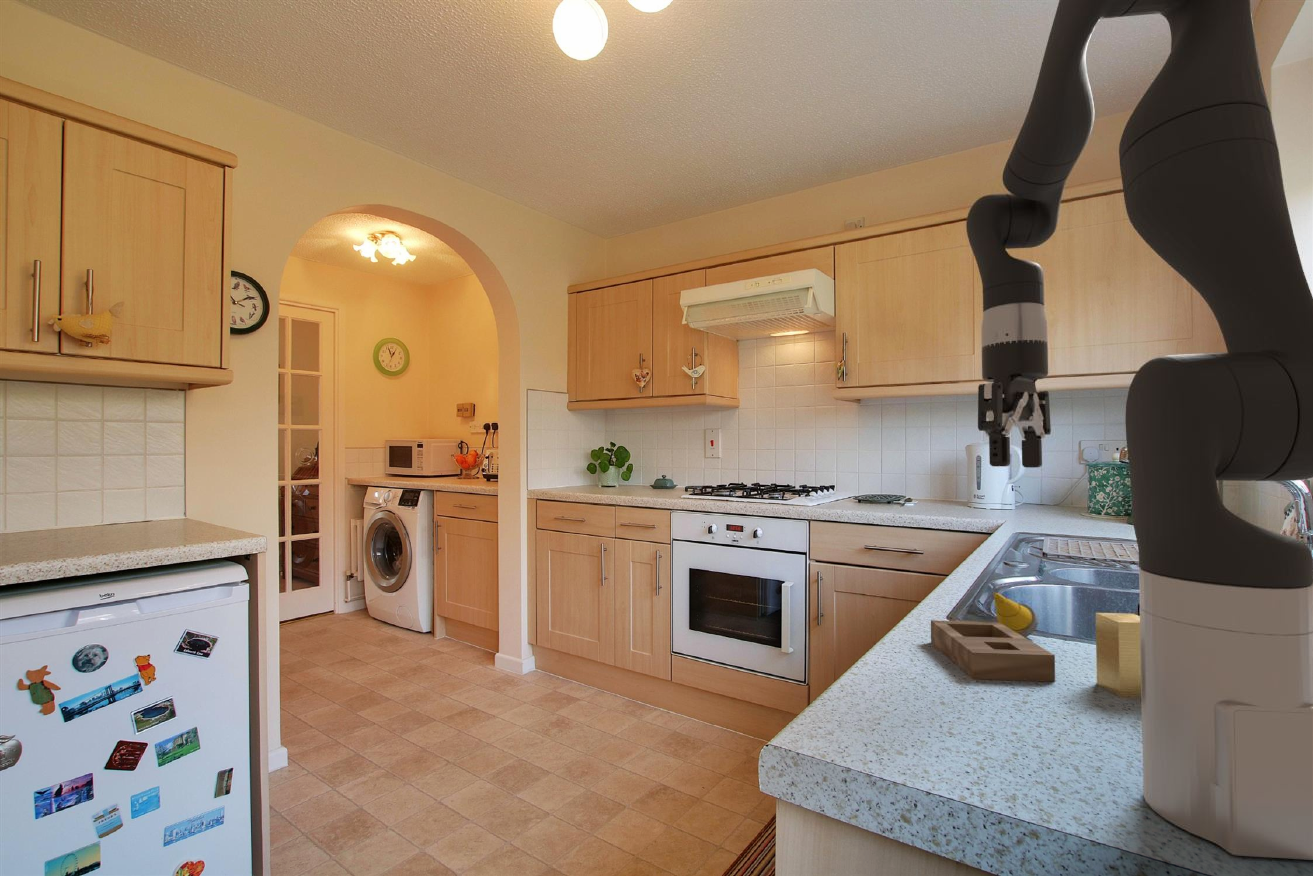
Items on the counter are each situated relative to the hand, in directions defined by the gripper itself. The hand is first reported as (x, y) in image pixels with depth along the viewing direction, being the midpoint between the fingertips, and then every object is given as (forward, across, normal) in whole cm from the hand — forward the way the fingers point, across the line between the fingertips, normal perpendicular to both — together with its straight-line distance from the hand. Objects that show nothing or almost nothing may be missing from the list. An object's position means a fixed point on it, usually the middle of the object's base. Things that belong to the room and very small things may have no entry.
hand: (1016, 466), depth 80 cm
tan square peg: (+25, -2, -12) cm, 28 cm away
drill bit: (+24, +8, +4) cm, 26 cm away
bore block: (+24, -4, +2) cm, 25 cm away
